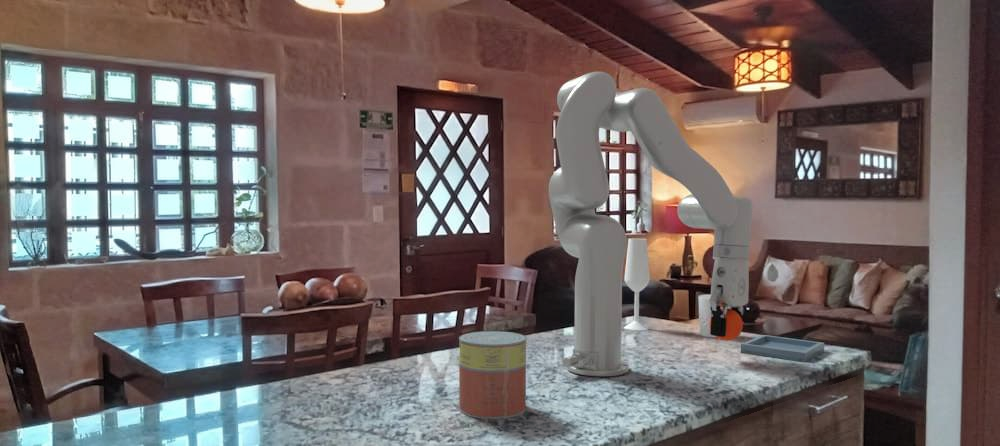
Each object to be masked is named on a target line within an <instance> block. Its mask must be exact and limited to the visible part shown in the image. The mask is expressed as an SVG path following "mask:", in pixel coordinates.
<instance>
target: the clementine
mask: <svg viewBox="0 0 1000 446" xmlns="http://www.w3.org/2000/svg"><path fill="white" fill-rule="evenodd" d="M721 310H722V309H721ZM740 315H741V314H740ZM740 315H739V314H738V313H737V312H736V311H734V310H732V309H727V312H726V315H725V318H727V322H726V336H725V337H720V336H716V337H717V338H716V339H719V340H722V341H732V340H734V339H736V338H738V337H739V336H740V335H741V333H742V332H741V331H743V328H744V323H743V318H742V319H741V317H740ZM709 325H710V329H711V318H710V322H709Z"/></svg>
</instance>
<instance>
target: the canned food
mask: <svg viewBox="0 0 1000 446" xmlns="http://www.w3.org/2000/svg"><path fill="white" fill-rule="evenodd" d="M527 339H528V338H527V336H526V335H524V334H522V333H519V332H518V333H517V332H514V331H513V332H512V331H506V330H505V331H501V330H485V331H484V330H483V331H482V330H481V331H473V332H467V333H464V334H462V335H460V336H459V337H458V340H459V344H458V345H459V354H458V355H459V357H458V358H459V361H458V362H459V364H458V365H459V367H458V369H459V371H458V372H459V373H458V374H459V380H458V381H459V383H458V384H459V391H458V393H459V394H458V395H459V397H458V398H459V399H458V400H459V401H458V403H459V405H458V411H459V412H460V413H461V414H463V415H465V416H468V417H471V418H476V419H482V420H483V419H484V420H500V419H501V420H502V419H510V418H515V417H518V416H520V415H523V414H524V413H525V412H526V410H527V406H526V405H527V404H526V403H527V402H526V401H527V396H526V394H527V393H526V392H527V391H526V390H527V389H526V388H527V387H526V381H527V376H526V374H527V373H526V372H527V370H526V369H527V365H526V364H527V361H526V360H527Z"/></svg>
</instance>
